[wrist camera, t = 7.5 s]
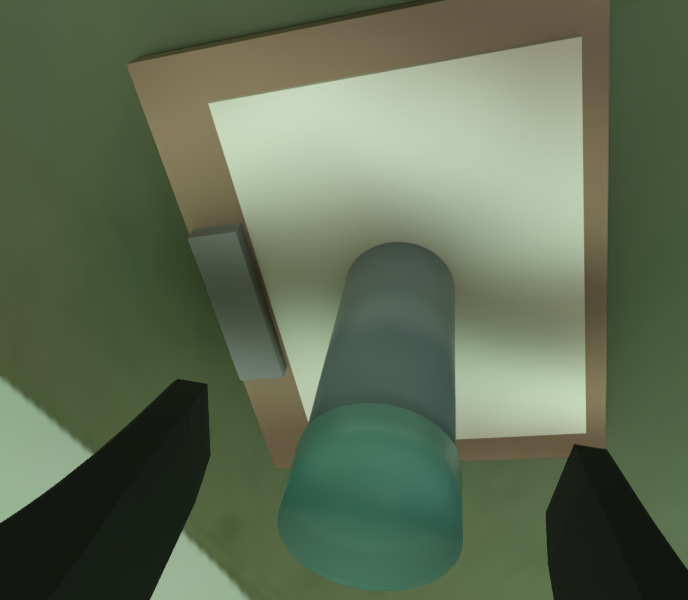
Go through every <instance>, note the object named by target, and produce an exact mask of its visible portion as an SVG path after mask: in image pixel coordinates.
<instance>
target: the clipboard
mask: <svg viewBox="0 0 688 600" xmlns="http://www.w3.org/2000/svg"><path fill="white" fill-rule="evenodd" d="M609 56H610V0H420V1H415V2H410V3H405V4H400V5H396V6H391V7H386V8H381V9H376V10H371V11H366V12H361V13H356V14H351V15H346V16H341V17H336V18H331V19H326V20H321V21H316V22H311V23H306V24H302V25H297V26H292V27H287V28H282V29H277V30H272V31H267V32H262V33H257V34H252V35H247V36H242V37H237V38H232V39H227V40H222V41H217V42H212V43H208V44H203V45H198V46H193V47H188V48H183V49H178V50H173V51H168V52H163V53H158V54H153V55H148V56H143V57H138V58H136V59H135V60H133V61H131V62H130V63H128V64H127V67H128V70H129V72H130V75H131V78H132V81H133V83H134V86H135V89H136V91H137V94H138V97H139V100H140V102H141V105H142V108H143V110H144V113H145V116H146V119H147V121H148V124H149V127H150V129H151V132H152V135H153V138H154V140H155V143H156V146H157V148H158V151H159V154H160V157H161V159H162V162H163V165H164V167H165V170H166V173H167V176H168V178H169V181H170V184H171V186H172V189H173V192H174V195H175V197H176V200H177V203H178V205H179V208H180V211H181V214H182V216H183V219H184V222H185V224H186V227H187V230H188V233H189V237H188V238H187V239H188V241H189V244H190V247H191V249H192V252H193V255H194V257H195V260H196V263H197V265H198V268H199V271H200V274H201V276H202V279H203V282H204V284H205V287H206V290H207V292H208V295H209V298H210V300H211V303H212V306H213V309H214V311H215V314H216V317H217V319H218V322H219V325H220V327H221V330H222V333H223V335H224V338H225V341H226V344H227V346H228V349H229V352H230V354H231V357H232V360H233V362H234V365H235V368H236V370H237V373H238V376H239V379H240V381H243V382H244V385H245V387H246V390H247V393H248V395H249V398H250V401H251V404H252V406H253V409H254V412H255V414H256V417H257V420H258V423H259V425H260V428H261V431H262V433H263V436H264V439H265V442H266V444H267V447H268V450H269V452H270V455H271V458H272V461H273V463H274V466H275V469H282V468H291V466H292V462H293V458H294V455H295V451H296V447H297V444H298V441H299V438H300V436H301V434H302V433H303V431H304V430H305V428H306V427H307V426H308V422H309V419H310V415H311V411H312V407H313V403H314V400H315V396H316V392H317V388H318V384H319V381H320V377H321V373H322V369H323V365H324V362H325V358H326V354H327V350H328V347H329V343H330V339H331V335H332V331H333V328H334V324H335V320H336V316H337V312H338V309H339V305H340V301H341V297H342V293H343V290H344V286H345V282H346V278H347V275H348V272H349V270H350V268H351V266H352V264H353V263H354V262H355V260H356V259H357V258H358V257H359V256H360V255H361V254H363V253H364V252H365V251H367V250H369V249H371V248H373V247H375V246H377V245H381V244H384V243H390V242H407V243H412V244H416V245H419V246H422V247H424V248H426V249H428V250H430V251H432V252H433V253H435V254H436V255H437V256H438V257H440V258H441V259H442V261H443V262H444V263H445V264H446V265H447V267H448V268H449V270H450V272H451V274H452V277H453V280H454V286H455V397H456V448H457V451H458V453H459V456H460V460H461V461H478V460H503V459H527V458H552V457H569V455H570V453H571V450H572V448H573V445H574V444H577V445H583V446H589V447H595V448H601V449H605V447H606V349H607V252H608V154H609Z"/></svg>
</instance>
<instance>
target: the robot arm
mask: <svg viewBox="0 0 688 600" xmlns="http://www.w3.org/2000/svg"><path fill="white" fill-rule="evenodd" d="M209 458H210V434H209V412H208V390H207V384H205V383H199V382H193V381H187V380H181V379H177V380H176V381H174V382H173V383H171V384H170V385H169V386H168V387H167V388H166V389H165V390H164V391H163V392H162V393H161V394H160V395H159V396H158V397H157V398H156V399H155V400H154V401H153V402H152V403H151V404H150V405H148V406H147V407H146V408H145V409H144V410H143V411H142V412H141V413H140V414H139V415H138V416H137V417H136V418H135V419H133V420H132V421H131V422H130V423H129V424H128V425H127V426H126V427H125V428H123V429H122V430H121V431H120V432H119V433H118V434H117V435H115V436H114V437H113V438H112V439H111V440H110V441H109V442H107V443H106V444H105V445H104V446H103V447H102V448H101V449H99V450H98V451H97V452H96V453H95V454H94V455H92V456H91V457H90V458H89V459H87V460H86V461H85V462H84V463H82V464H81V465H80V466H79V467H77V468H76V469H75V470H74V471H72V472H71V473H70V474H68V475H67V476H66V477H65V478H63V479H62V480H61V481H60V482H59V483H57V484H56V485H54V486H53V487H52V488H51V489H49V490H48V491H46V492H45V493H44V494H42V495H41V496H40V497H38V498H37V499H35V500H34V501H33V502H31V503H30V504H28V505H27V506H25V507H24V508H22V509H21V510H19V511H18V512H17V513H15V514H13V515H12V516H11V517H9V518H7V519H6V520H4V521H3V522H1V523H0V600H150V598H151V596H152V594H153V592H154V590H155V587H156V585H157V583H158V581H159V579H160V577H161V575H162V573H163V570H164V568H165V566H166V564H167V562H168V560H169V558H170V556H171V553H172V551H173V549H174V547H175V545H176V543H177V541H178V538H179V536H180V534H181V532H182V530H183V528H184V525H185V523H186V521H187V519H188V517H189V515H190V512H191V510H192V508H193V506H194V503H195V501H196V498H197V495H198V492H199V489H200V486H201V483H202V480H203V477H204V474H205V471H206V468H207V464H208V461H209ZM546 532H547V553H548V566H549V573H550V579H551V585H552V591H553V597H554V600H688V570H687V568H686V567H685V566H684V564H683V563H682V561H681V560H680V559H679V557H678V556H677V554H676V553H675V552H674V550H673V549H672V547H671V546H670V544H669V543H668V542H667V540H666V539H665V537H664V536H663V534H662V533H661V532H660V530H659V529H658V527H657V526H656V524H655V523H654V521H653V520H652V518H651V517H650V515H649V514H648V512H647V511H646V509H645V508H644V506H643V505H642V503H641V502H640V500H639V499H638V497H637V495H636V494H635V492H634V491H633V489H632V488H631V486H630V485H629V483H628V481H627V480H626V478H625V477H624V475H623V474H622V472H621V471H620V469H619V467H618V466H617V464H616V463H615V461H614V460H613V458H612V457H611V455H610V454H609V452H608V451H607V449H601V448H595V447H589V446H583V445H577V444H574V445H573V448H572V450H571V453H570V455H569V457H568V460H567V462H566V465H565V467H564V470H563V472H562V475H561V477H560V479H559V482H558V484H557V487H556V489H555V492H554V494H553V496H552V499H551V501H550V504H549V506H548V509H547V511H546Z"/></svg>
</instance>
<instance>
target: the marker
mask: <svg viewBox="0 0 688 600" xmlns="http://www.w3.org/2000/svg"><path fill="white" fill-rule="evenodd" d="M278 529H279V533H280V536H281V538H282V540H283V543H284V544H285V546H286V547H287V549H288V550H289V551H290V553H291V554H292V555H293V556H294V557H295V558H296V559H297V560H298V561H299V562H300V563H301V564H303V565H304V566H305V567H307V568H308V569H310V570H311V571H313V572H314V573H316V574H318V575H320V576H322V577H324V578H326V579H328V580H331V581H333V582H336V583H338V584H342V585H345V586H348V587H353V588H357V589H363V590H370V591H399V590H406V589H411V588H416V587H419V586H423V585H425V584H428V583H430V582H433V581H434V580H436V579H438V578H440V577H441V576H443V575H444V574H445V573H447V572H448V571H449V570H450V569H451V568H452V567H453V566H454V564H455V563H456V561H457V560H458V558H459V555H460V553H461V550H462V545H463V536H462V476H461V460H460V456H459V453H458V451H457V448H456V397H455V286H454V280H453V277H452V274H451V272H450V270H449V268H448V267H447V265H446V264H445V263H444V262H443V261H442V259H441V258H440V257H438V256H437V255H436V254H435V253H433V252H432V251H430V250H428V249H426V248H424V247H422V246H419V245H416V244H412V243H407V242H390V243H384V244H381V245H377V246H375V247H373V248H371V249H369V250H367V251H365V252H364V253H363V254H361V255H360V256H359V257H358V258H357V259H356V260H355V262H354V263H353V264H352V266H351V268H350V270H349V272H348V275H347V278H346V282H345V286H344V290H343V293H342V297H341V301H340V305H339V309H338V312H337V316H336V320H335V324H334V328H333V331H332V335H331V339H330V343H329V347H328V350H327V354H326V358H325V362H324V365H323V369H322V373H321V377H320V381H319V384H318V388H317V392H316V396H315V400H314V403H313V407H312V411H311V415H310V419H309V422H308V426H307V427H306V428H305V430H304V431H303V433H302V434H301V436H300V438H299V441H298V444H297V447H296V451H295V455H294V458H293V462H292V466H291V469H290V473H289V477H288V480H287V484H286V488H285V491H284V495H283V499H282V502H281V506H280V510H279V514H278Z"/></svg>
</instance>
